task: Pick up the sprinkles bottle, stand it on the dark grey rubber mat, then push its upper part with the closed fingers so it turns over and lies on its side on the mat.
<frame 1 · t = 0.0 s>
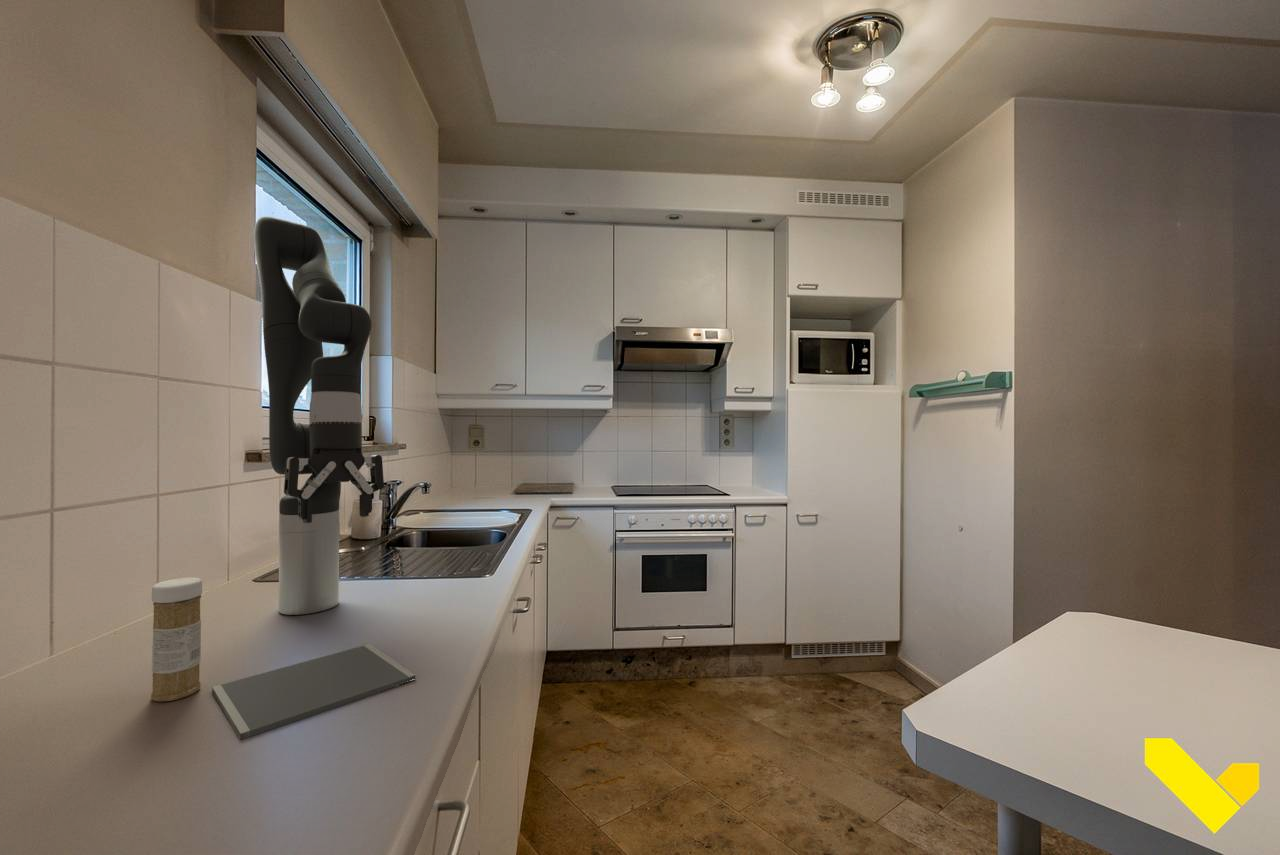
hand: (336, 519, 87), 17 cm above the countertop, tool pointing down, fingers open, 8 cm apart
sprinkles bottle: (176, 695, 64), on the countertop
mat: (316, 685, 66), on the countertop
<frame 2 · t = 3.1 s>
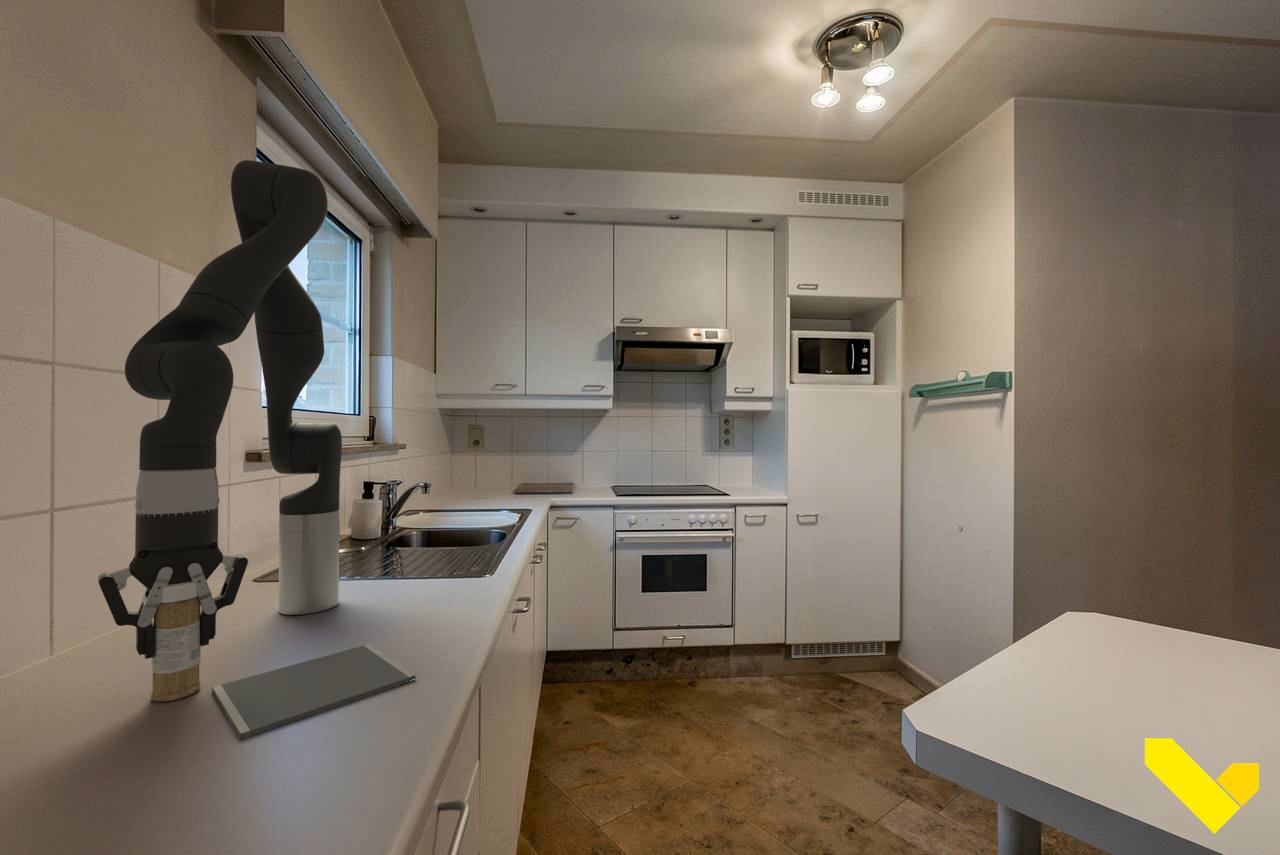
hand: (176, 649, 64), 5 cm above the countertop, tool pointing down, fingers closed on sprinkles bottle, 4 cm apart
sprinkles bottle: (176, 695, 64), on the countertop, touching gripper
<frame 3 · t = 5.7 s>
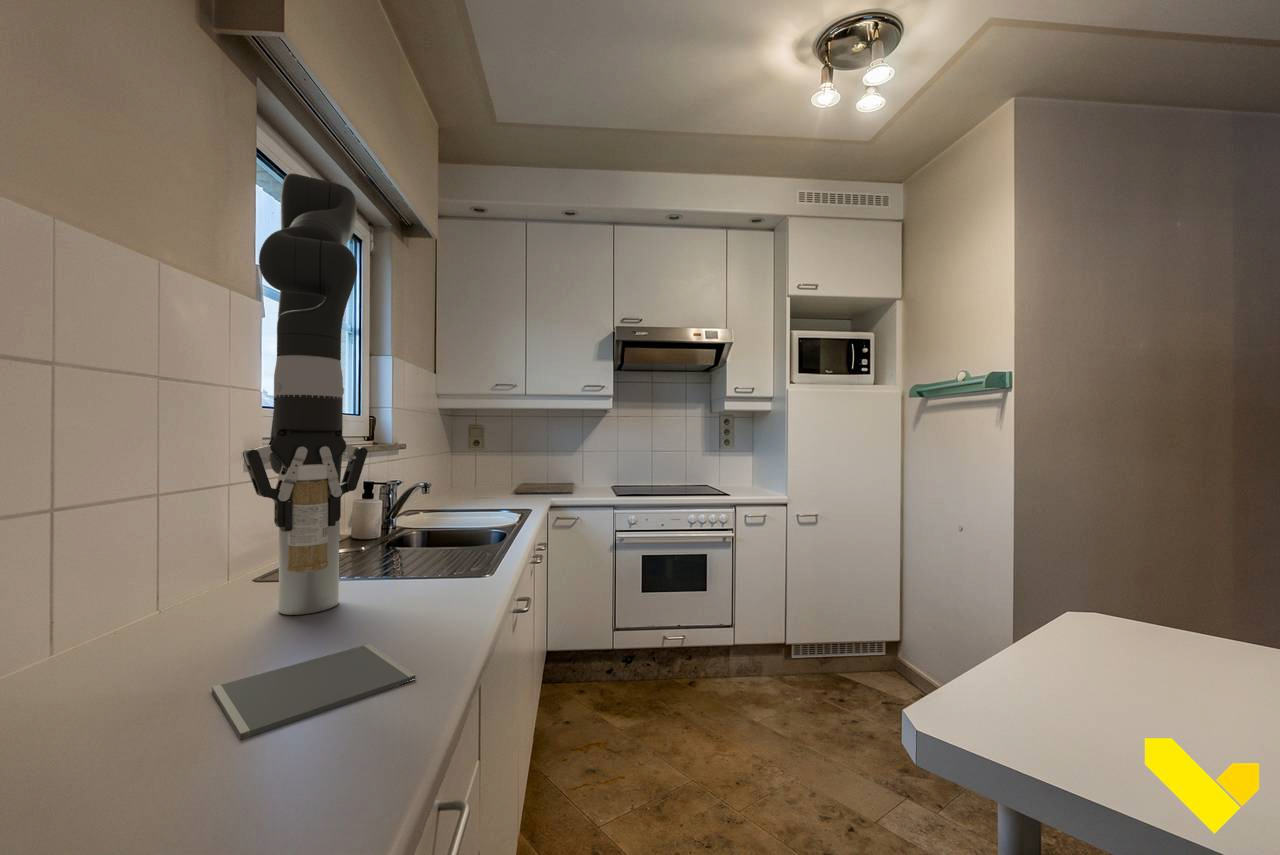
hand: (308, 527, 68), 19 cm above the countertop, tool pointing down, fingers closed on sprinkles bottle, 4 cm apart
sprinkles bottle: (308, 570, 68), point 14 cm above the countertop, touching gripper
when the fingers open (7 cm above the countertop, at t = 8.3 s): sprinkles bottle drops 1 cm, resting on mat.
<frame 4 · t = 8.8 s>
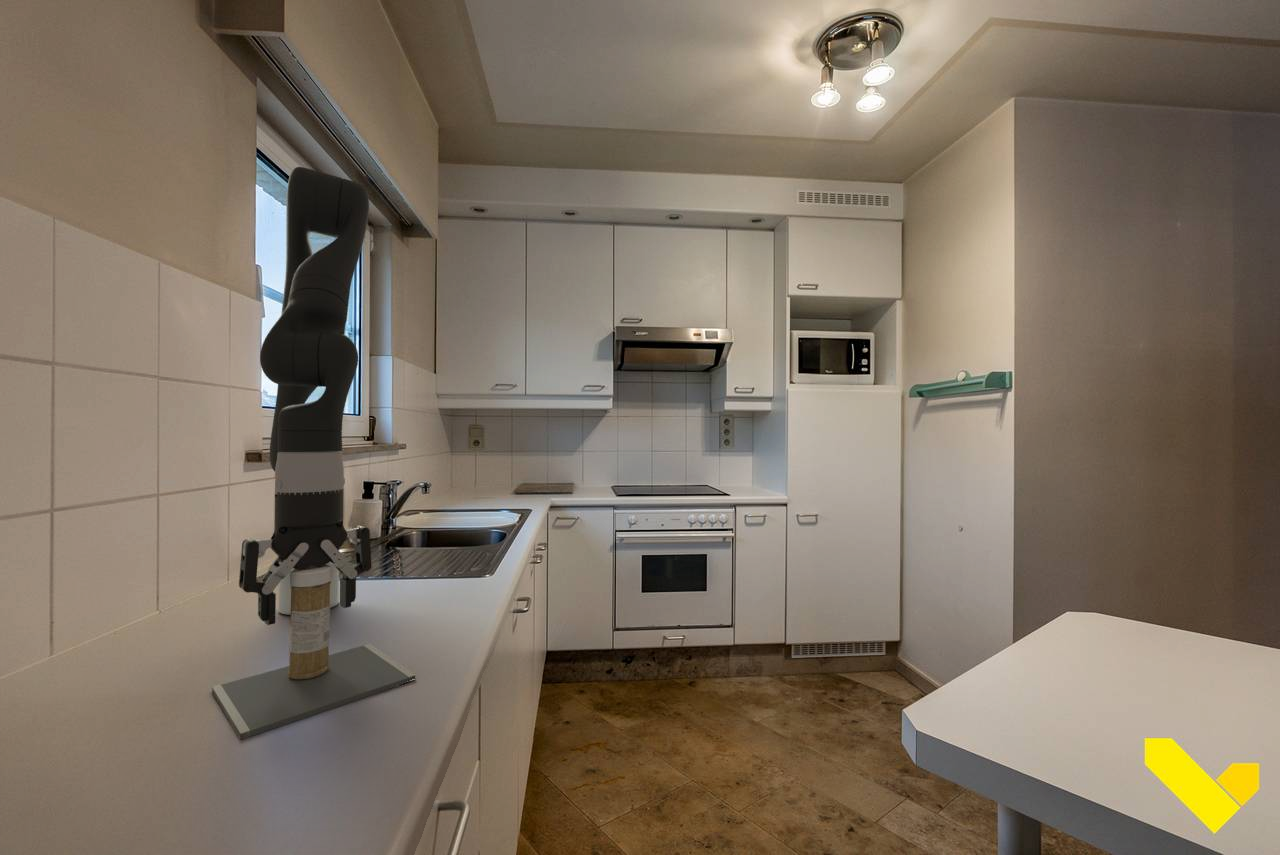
hand: (309, 614, 68), 8 cm above the countertop, tool pointing down, fingers open, 8 cm apart
sprinkles bottle: (308, 674, 68), resting on mat
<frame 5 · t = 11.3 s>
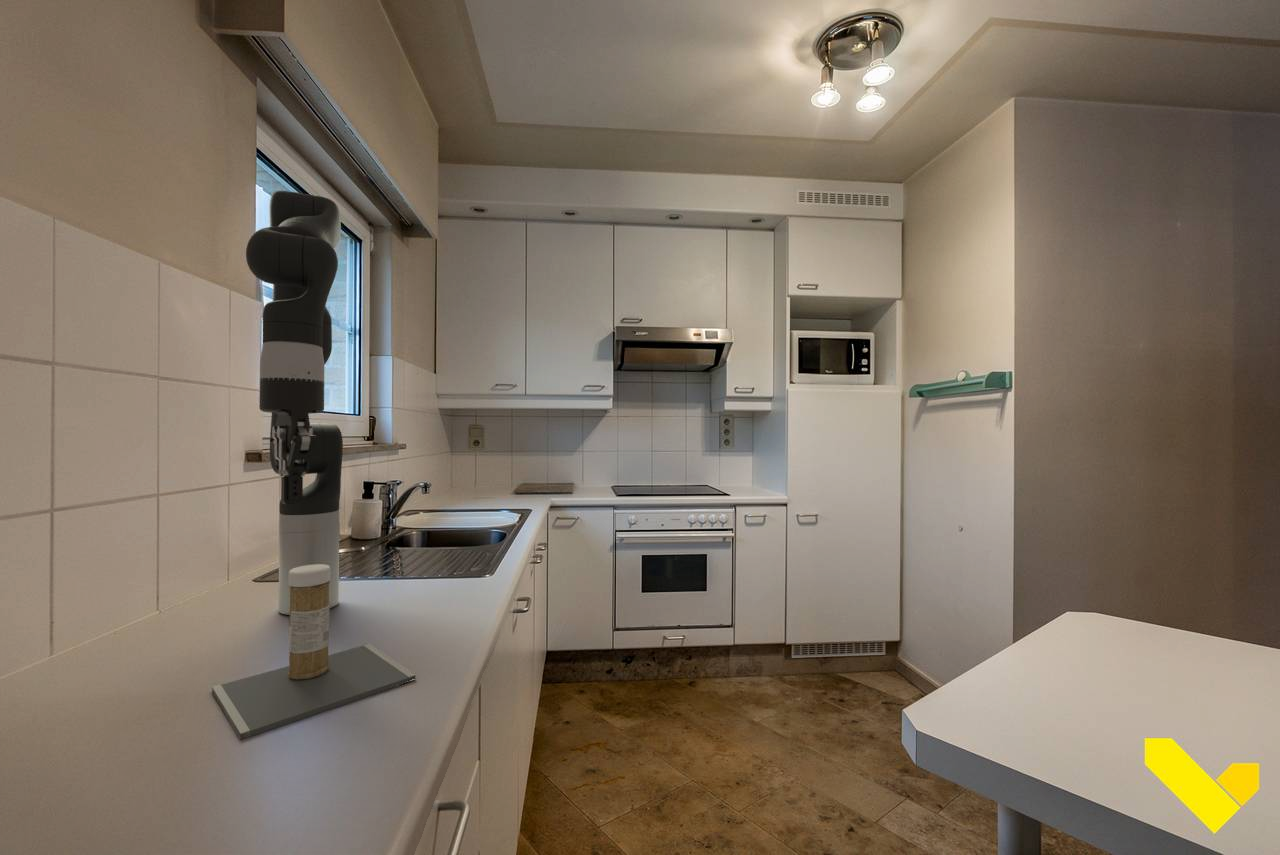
hand: (291, 503, 74), 22 cm above the countertop, tool pointing down, fingers closed
nothing on the countertop moved.
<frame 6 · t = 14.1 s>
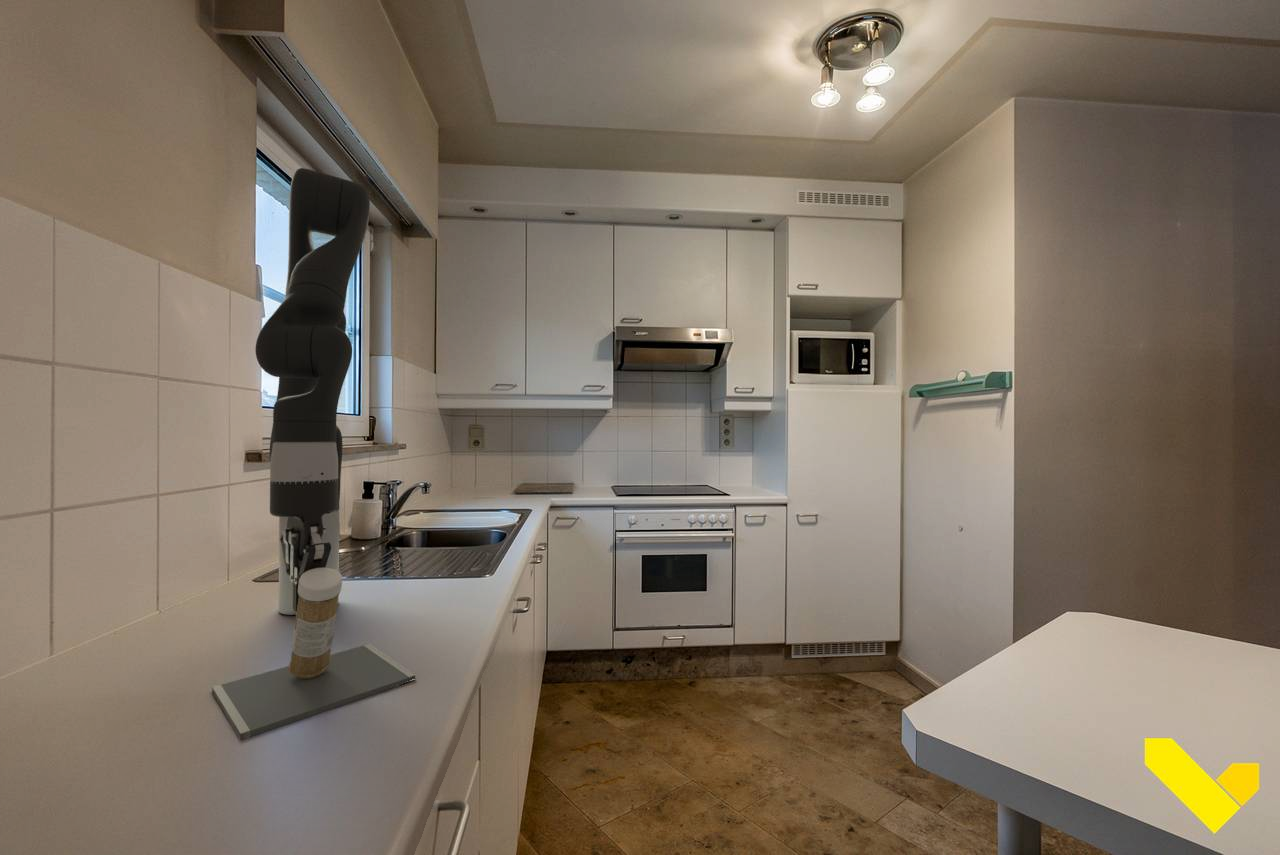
hand: (304, 610, 69), 8 cm above the countertop, tool pointing down, fingers closed
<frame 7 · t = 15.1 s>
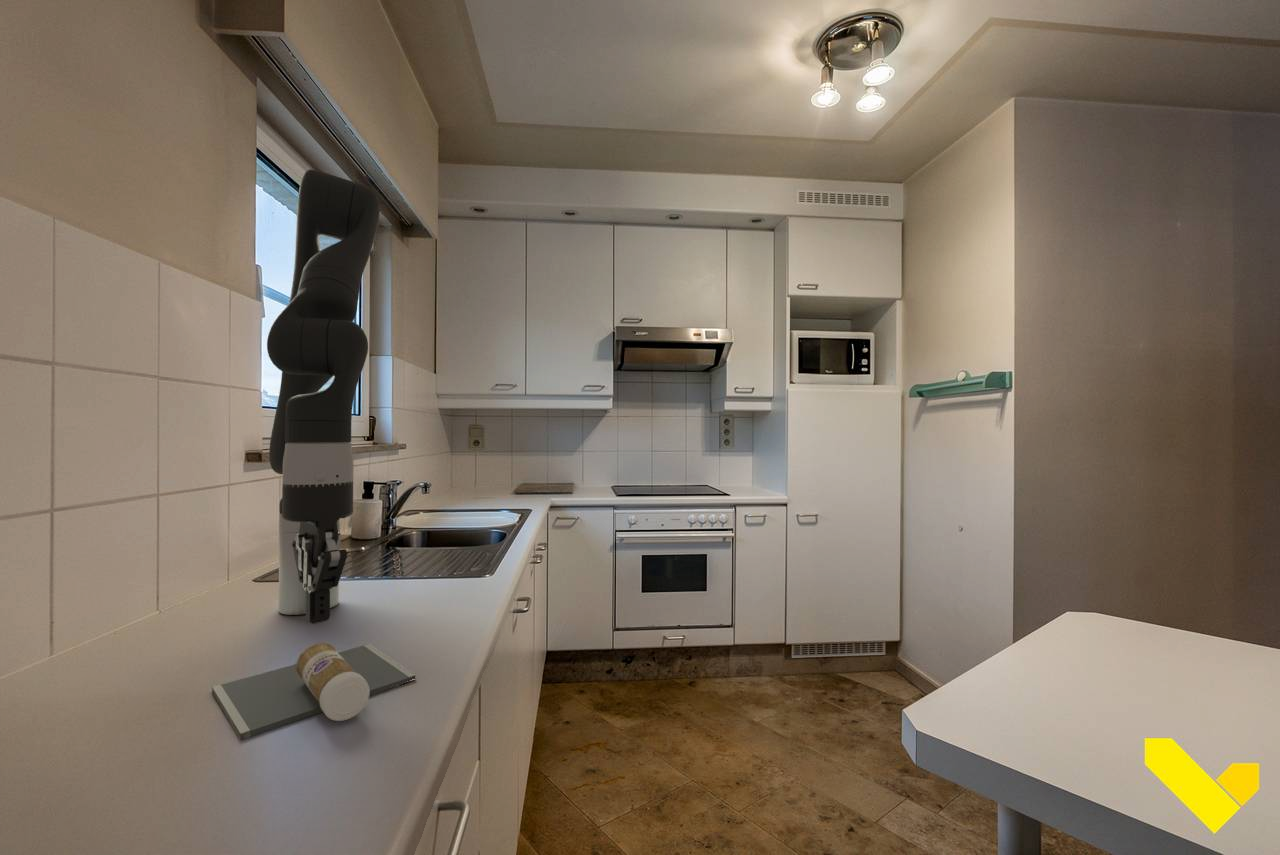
hand: (317, 620, 65), 8 cm above the countertop, tool pointing down, fingers closed
sprinkles bottle: (315, 660, 67), point 3 cm above the countertop, touching mat
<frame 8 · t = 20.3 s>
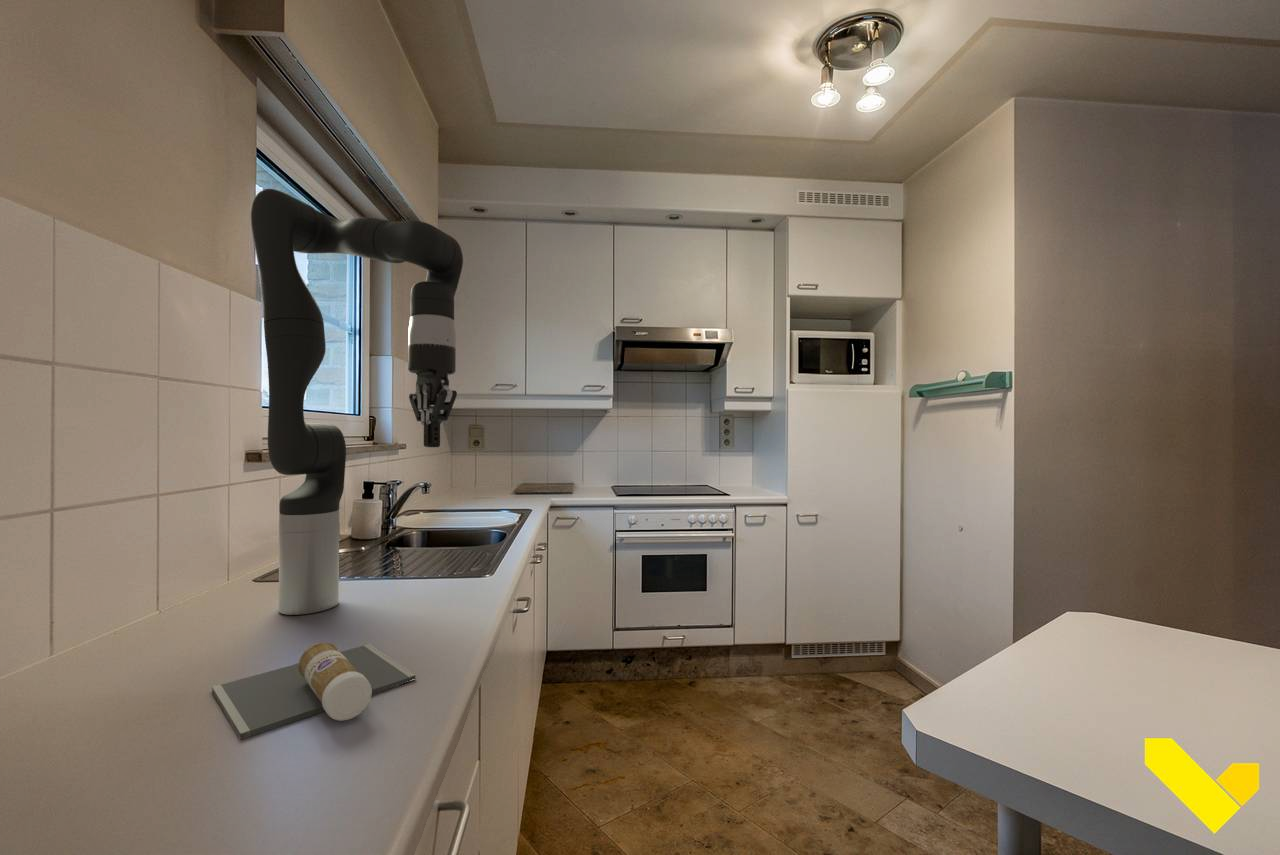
hand: (431, 447, 91), 29 cm above the countertop, tool pointing down, fingers closed
nothing on the countertop moved.
at the end: sprinkles bottle tilted 90°; sprinkles bottle inside the target area (4.5 cm from its centre), point 2.8 cm above the countertop; the gripper is holding nothing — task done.
